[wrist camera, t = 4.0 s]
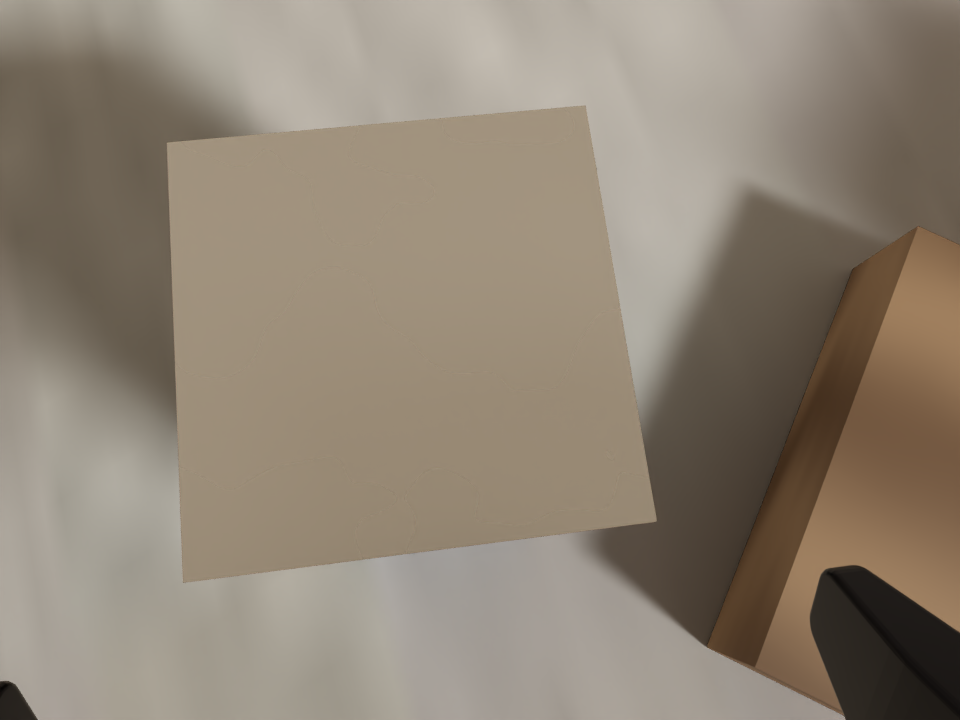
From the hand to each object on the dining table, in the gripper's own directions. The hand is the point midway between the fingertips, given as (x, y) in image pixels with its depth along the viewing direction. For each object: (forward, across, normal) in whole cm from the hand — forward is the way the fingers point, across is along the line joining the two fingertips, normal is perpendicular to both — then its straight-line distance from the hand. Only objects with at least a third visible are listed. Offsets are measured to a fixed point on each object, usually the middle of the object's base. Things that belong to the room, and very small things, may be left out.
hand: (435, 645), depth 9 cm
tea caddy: (+10, 0, +5) cm, 11 cm away
